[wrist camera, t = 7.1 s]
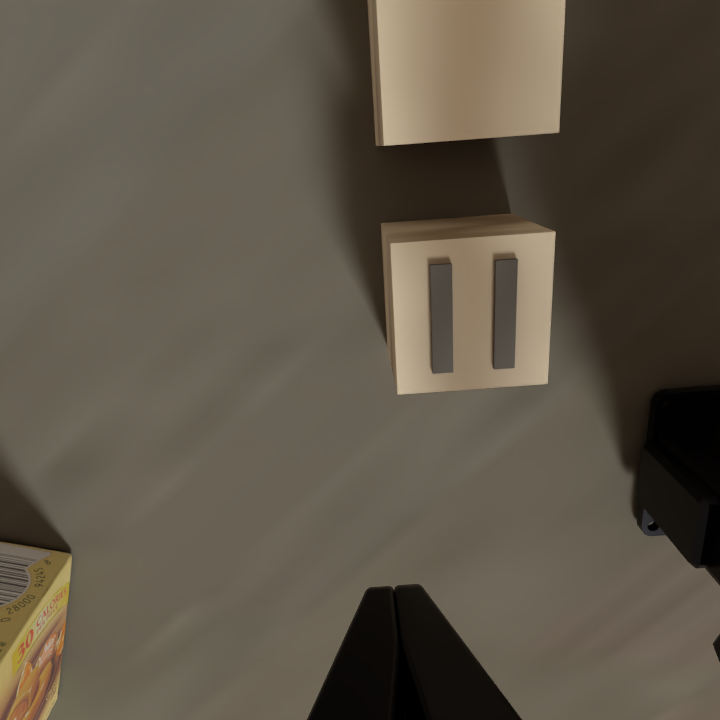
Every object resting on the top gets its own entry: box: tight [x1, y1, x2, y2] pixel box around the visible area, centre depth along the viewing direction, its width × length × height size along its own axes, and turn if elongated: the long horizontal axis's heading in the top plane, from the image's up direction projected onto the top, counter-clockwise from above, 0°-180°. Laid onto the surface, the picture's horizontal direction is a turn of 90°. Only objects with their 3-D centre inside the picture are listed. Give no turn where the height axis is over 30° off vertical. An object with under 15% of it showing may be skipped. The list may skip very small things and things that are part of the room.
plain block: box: [367, 0, 566, 146], centre depth 16 cm, size 4×4×4 cm
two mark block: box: [381, 214, 556, 394], centre depth 18 cm, size 4×4×5 cm
